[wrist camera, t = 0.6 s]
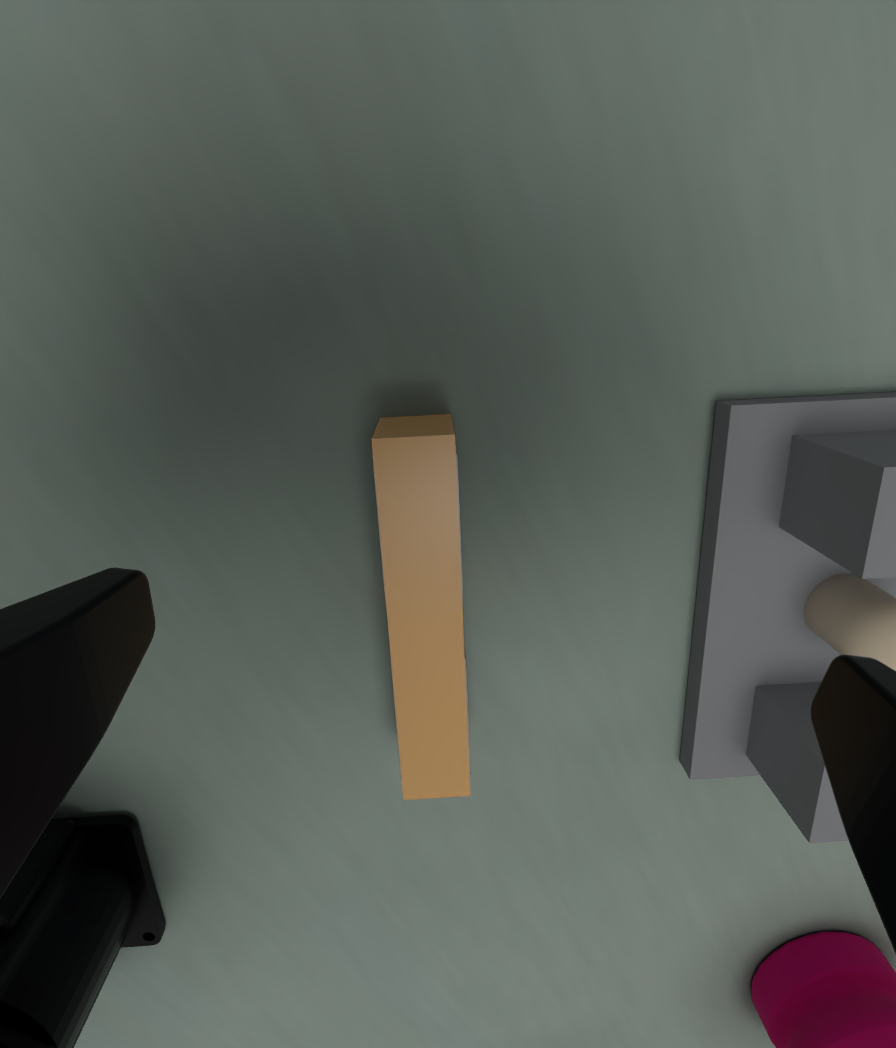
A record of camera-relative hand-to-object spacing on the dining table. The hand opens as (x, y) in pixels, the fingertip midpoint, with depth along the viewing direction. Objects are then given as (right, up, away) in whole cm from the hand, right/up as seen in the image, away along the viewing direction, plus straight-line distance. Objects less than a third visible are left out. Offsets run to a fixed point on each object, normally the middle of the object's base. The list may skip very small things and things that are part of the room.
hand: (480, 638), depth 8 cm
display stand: (+13, -1, +14) cm, 19 cm away
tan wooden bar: (-1, -1, +13) cm, 13 cm away
